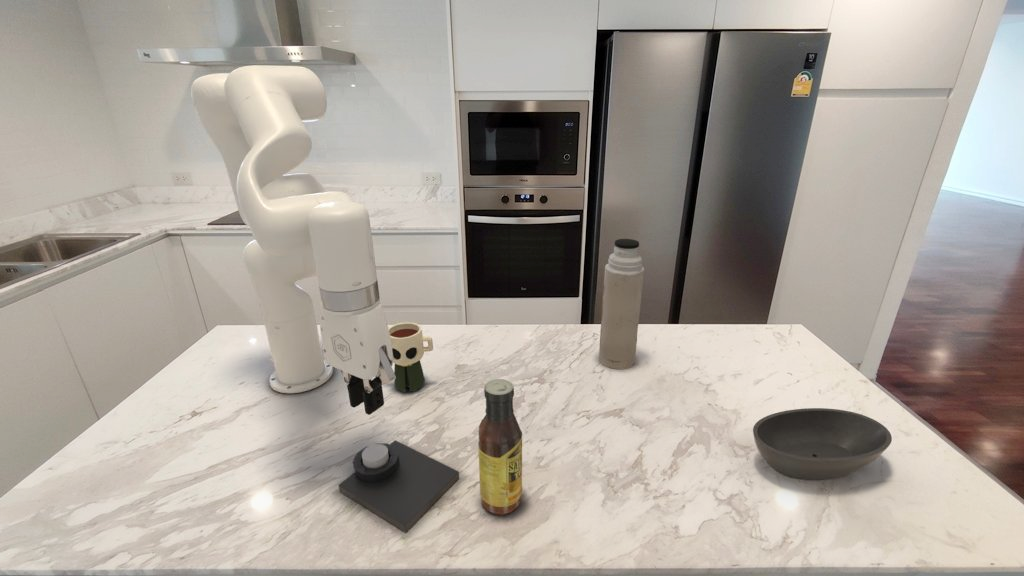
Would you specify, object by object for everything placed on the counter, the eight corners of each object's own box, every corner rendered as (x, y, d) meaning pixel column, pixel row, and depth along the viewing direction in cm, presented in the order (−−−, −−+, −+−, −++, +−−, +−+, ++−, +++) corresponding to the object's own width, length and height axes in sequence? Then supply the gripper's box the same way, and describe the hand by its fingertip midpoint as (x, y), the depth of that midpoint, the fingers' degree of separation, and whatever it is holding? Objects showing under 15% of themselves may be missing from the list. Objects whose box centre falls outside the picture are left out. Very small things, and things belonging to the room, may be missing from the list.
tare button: (357, 463, 76) (356, 455, 75) (376, 448, 79) (375, 440, 78) (375, 472, 74) (374, 465, 73) (394, 457, 77) (393, 449, 76)
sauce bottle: (517, 520, 69) (516, 405, 61) (475, 513, 70) (469, 399, 62) (525, 486, 74) (525, 377, 67) (486, 480, 76) (482, 372, 68)
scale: (333, 488, 75) (330, 473, 73) (390, 443, 84) (388, 429, 83) (406, 533, 67) (403, 517, 66) (459, 478, 76) (458, 463, 75)
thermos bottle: (592, 362, 108) (600, 242, 97) (608, 347, 114) (616, 233, 103) (626, 373, 103) (637, 249, 93) (640, 357, 109) (652, 239, 99)
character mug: (380, 396, 97) (372, 339, 92) (386, 376, 103) (379, 322, 98) (434, 393, 97) (429, 337, 92) (437, 374, 104) (432, 320, 99)
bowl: (729, 446, 82) (735, 416, 80) (843, 431, 85) (852, 402, 83) (775, 501, 71) (784, 469, 69) (904, 482, 74) (917, 450, 72)
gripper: (289, 291, 66) (312, 401, 74) (370, 318, 58) (387, 439, 65) (334, 274, 72) (351, 378, 79) (413, 297, 64) (424, 410, 71)
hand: (367, 405), depth 72 cm, fingers closed
